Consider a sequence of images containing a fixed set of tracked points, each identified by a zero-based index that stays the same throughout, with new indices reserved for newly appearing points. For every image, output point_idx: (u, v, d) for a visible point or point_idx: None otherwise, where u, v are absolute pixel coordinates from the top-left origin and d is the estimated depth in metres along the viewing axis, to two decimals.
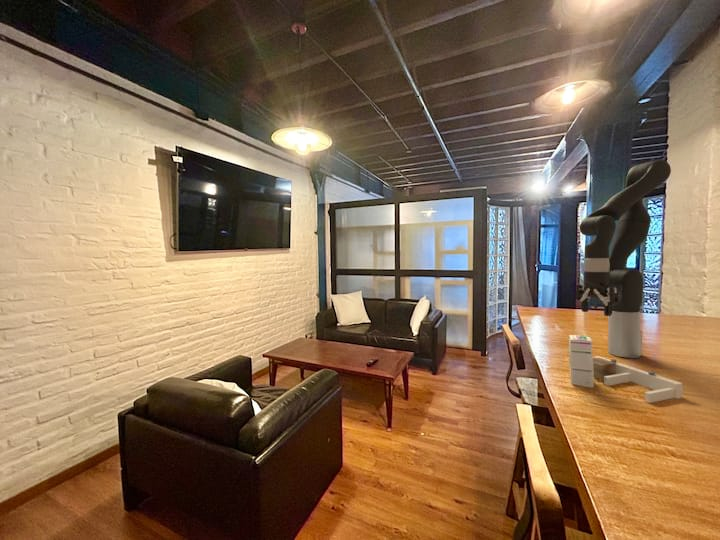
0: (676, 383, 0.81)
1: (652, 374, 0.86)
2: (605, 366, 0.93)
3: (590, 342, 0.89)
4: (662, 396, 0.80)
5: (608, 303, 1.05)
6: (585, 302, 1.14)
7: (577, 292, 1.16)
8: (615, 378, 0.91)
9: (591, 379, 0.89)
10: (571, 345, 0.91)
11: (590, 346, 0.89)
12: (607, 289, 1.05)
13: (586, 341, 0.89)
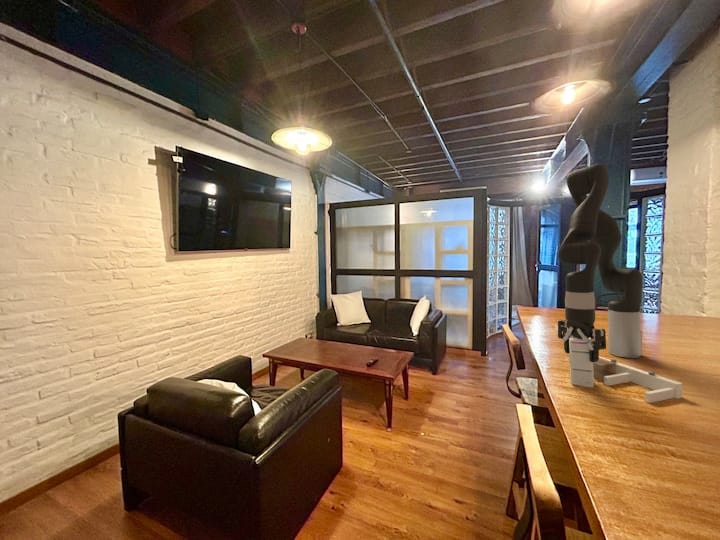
0: (676, 383, 0.81)
1: (652, 374, 0.86)
2: (605, 366, 0.93)
3: None
4: (662, 396, 0.80)
5: (594, 347, 0.87)
6: None
7: (559, 329, 0.98)
8: (615, 378, 0.91)
9: (591, 379, 0.89)
10: (571, 345, 0.91)
11: None
12: (592, 330, 0.88)
13: None
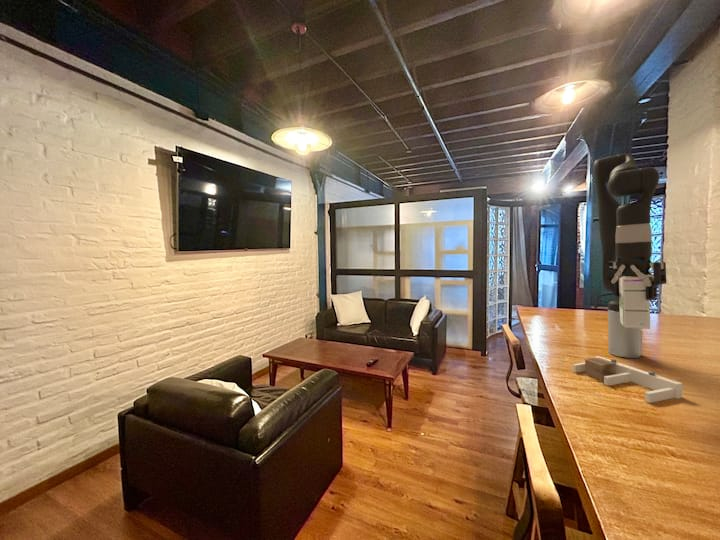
0: (676, 383, 0.81)
1: (652, 374, 0.86)
2: (605, 366, 0.93)
3: None
4: (662, 396, 0.80)
5: (651, 283, 0.79)
6: (618, 284, 0.88)
7: (607, 271, 0.90)
8: (615, 378, 0.91)
9: (647, 320, 0.81)
10: (624, 284, 0.83)
11: None
12: (650, 264, 0.79)
13: None
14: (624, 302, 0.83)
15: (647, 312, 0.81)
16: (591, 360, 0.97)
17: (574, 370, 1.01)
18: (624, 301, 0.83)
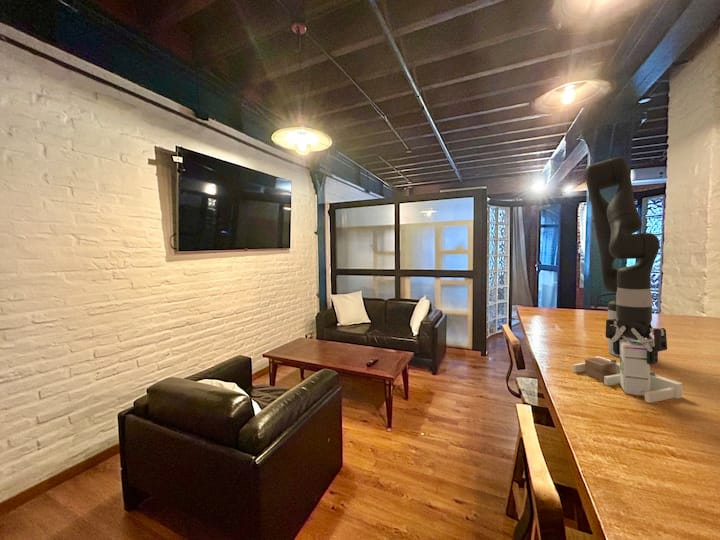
0: (676, 383, 0.81)
1: (652, 374, 0.86)
2: (605, 366, 0.93)
3: None
4: (662, 396, 0.80)
5: (652, 348, 0.80)
6: None
7: (607, 329, 0.91)
8: (615, 378, 0.91)
9: (647, 388, 0.82)
10: (624, 351, 0.84)
11: None
12: (650, 330, 0.80)
13: (642, 346, 0.82)
14: (625, 368, 0.84)
15: (647, 380, 0.82)
16: (591, 360, 0.97)
17: (574, 370, 1.01)
18: (625, 367, 0.84)
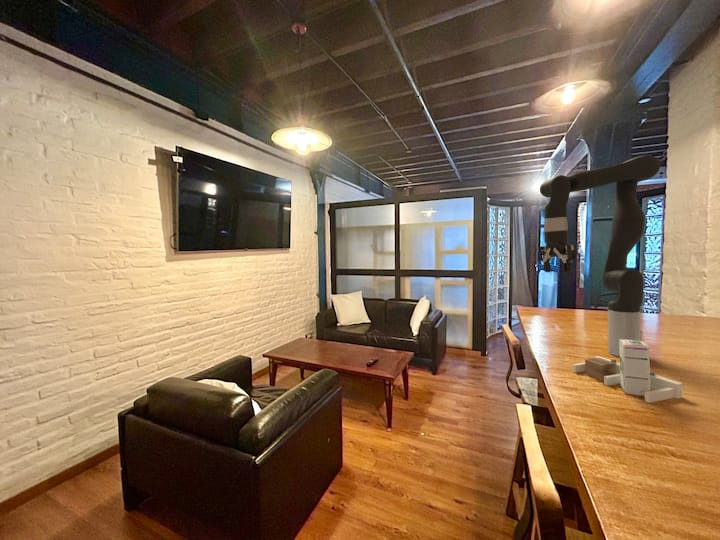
0: (676, 383, 0.81)
1: (652, 374, 0.86)
2: (605, 366, 0.93)
3: (647, 347, 0.82)
4: (662, 396, 0.80)
5: (566, 260, 1.08)
6: (547, 263, 1.17)
7: (540, 254, 1.19)
8: (615, 378, 0.91)
9: (647, 388, 0.82)
10: (624, 351, 0.84)
11: (647, 352, 0.82)
12: (565, 247, 1.08)
13: (642, 346, 0.82)
14: (625, 368, 0.84)
15: (647, 380, 0.82)
16: (591, 360, 0.97)
17: (574, 370, 1.01)
18: (625, 367, 0.84)
